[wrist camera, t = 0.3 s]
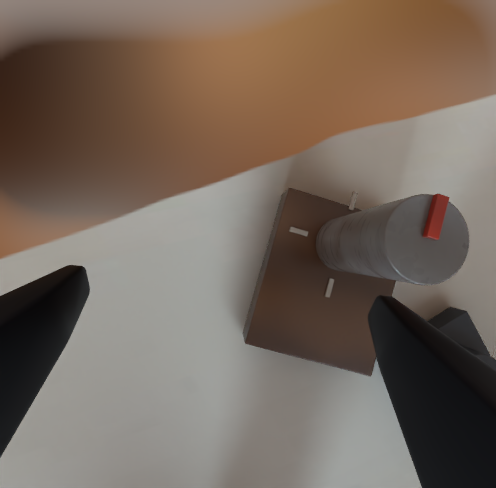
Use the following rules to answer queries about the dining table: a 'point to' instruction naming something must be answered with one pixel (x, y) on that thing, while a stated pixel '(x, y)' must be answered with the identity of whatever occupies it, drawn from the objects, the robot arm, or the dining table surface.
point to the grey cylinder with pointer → (398, 241)
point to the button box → (462, 333)
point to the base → (312, 292)
